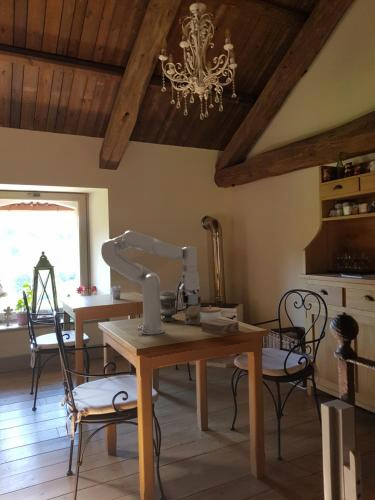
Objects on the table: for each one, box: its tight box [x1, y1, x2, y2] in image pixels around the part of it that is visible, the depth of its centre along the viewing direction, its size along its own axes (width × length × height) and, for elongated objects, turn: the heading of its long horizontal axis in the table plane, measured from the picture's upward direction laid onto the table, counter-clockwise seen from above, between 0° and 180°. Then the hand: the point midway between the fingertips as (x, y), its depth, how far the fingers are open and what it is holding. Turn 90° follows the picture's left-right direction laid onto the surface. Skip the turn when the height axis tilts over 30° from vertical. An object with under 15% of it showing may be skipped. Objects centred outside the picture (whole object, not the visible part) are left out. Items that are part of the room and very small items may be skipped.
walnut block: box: [201, 318, 240, 336], centre depth 209 cm, size 14×14×5 cm
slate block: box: [181, 292, 199, 305], centre depth 210 cm, size 6×6×5 cm
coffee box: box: [184, 295, 202, 325], centre depth 230 cm, size 9×6×16 cm
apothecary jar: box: [160, 290, 178, 322], centre depth 242 cm, size 12×12×18 cm
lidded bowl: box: [199, 305, 222, 323], centre depth 227 cm, size 13×13×11 cm
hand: (190, 301), depth 210 cm, fingers closed on slate block, 6 cm apart
